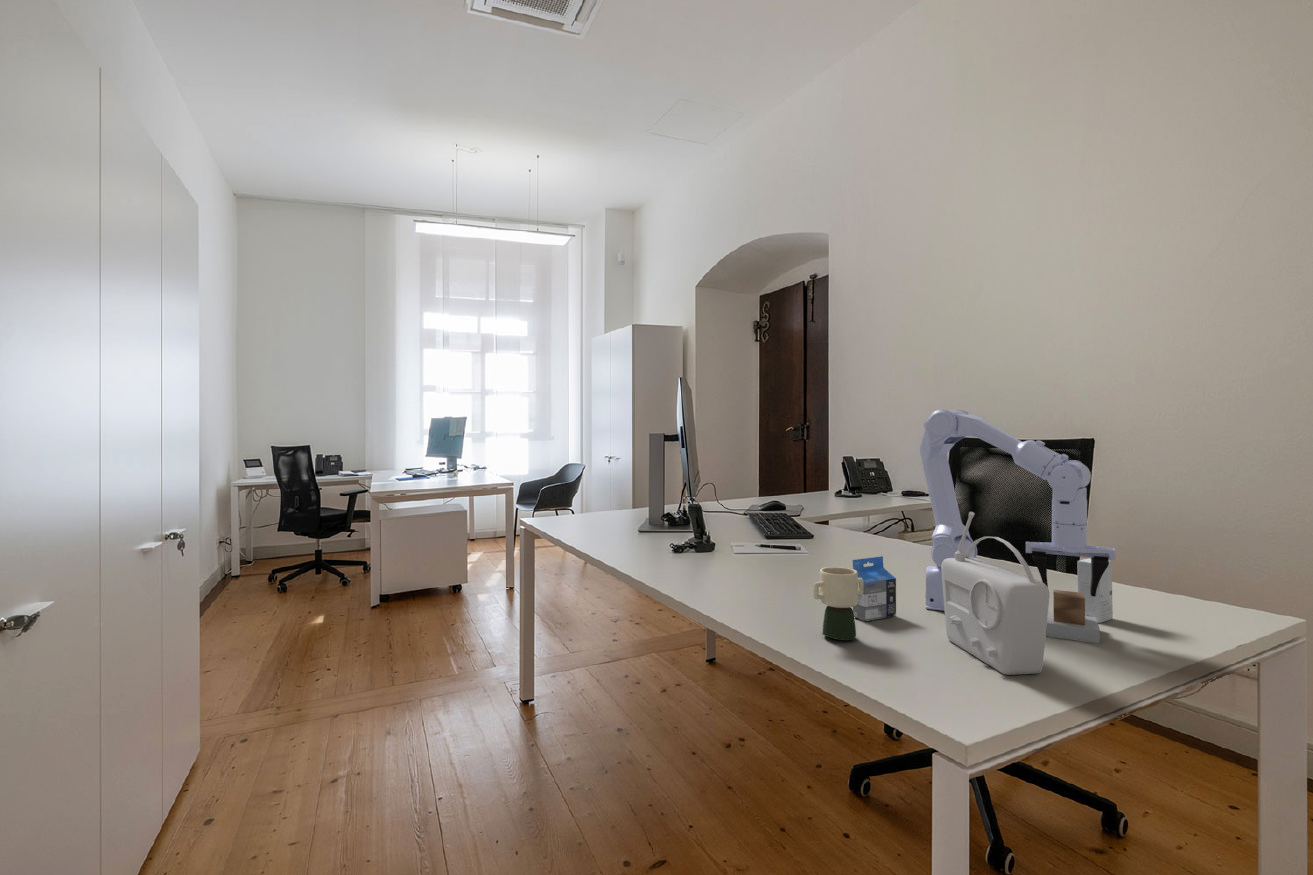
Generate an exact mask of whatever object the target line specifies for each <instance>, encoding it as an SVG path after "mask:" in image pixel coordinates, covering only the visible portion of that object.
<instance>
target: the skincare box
mask: <svg viewBox="0 0 1313 875" xmlns="http://www.w3.org/2000/svg"><path fill="white" fill-rule="evenodd" d="M1108 561H1109V565H1108V567H1107V569H1106V570H1105V572H1104V573H1103V575H1102V577H1101V579H1100V581H1099V584H1098V587H1097V591H1096V597H1093V596H1091V594H1090V586H1091V557H1088V558H1083V559H1081V560H1077V563H1076V564H1077V568H1076V569H1077V592H1080V593H1084V597H1085V616H1090V617H1096V619H1097V622H1098V624H1102V623H1103V622H1106V621H1110V620H1112V619H1113V617H1114V616H1113V613H1114V612H1113V606H1114V605H1113V577H1112V576H1113V575H1112V574H1113V573H1112V572H1113V571H1112V560H1108Z"/></svg>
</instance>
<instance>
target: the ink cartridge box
mask: <svg viewBox="0 0 1313 875" xmlns="http://www.w3.org/2000/svg"><path fill="white" fill-rule="evenodd" d="M868 563H869V564H872V565H867V566H864V565H866V564H868ZM852 569H854V570H856V571H857V573H858V578H862V579H863V594H861V595H858V604H857V605H856V606H853V607H852V610H853V614H854V617H855V618H854V619H856V618H859V619H861V620H864V621H867V622H871V621H870V620H872V621H877V620H881V618H883V619H887V618H894V617H896V616H897V579H896V576H894V575H893V574H892V573H890V572H889V571H888V570H887V569H886V568H885V567H884V555H882V556H881V555H880V556H875V557H865V558H858V559H857V558H856V559H852ZM859 619H858V620H859ZM876 619H877V620H876ZM861 620H860V621H861ZM864 621H863V622H864Z"/></svg>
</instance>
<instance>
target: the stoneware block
mask: <svg viewBox="0 0 1313 875" xmlns="http://www.w3.org/2000/svg"><path fill="white" fill-rule="evenodd" d="M1046 637H1051V638H1059V639H1067V640H1074V641H1080V642H1087V643H1094V644H1100V643H1101V630H1100V626H1099V623H1098V622H1097V619H1096V617H1090V616H1085V625H1078V624H1071V623H1063V622H1055V621H1054V611H1049V610H1048V617H1047V627H1046Z"/></svg>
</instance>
